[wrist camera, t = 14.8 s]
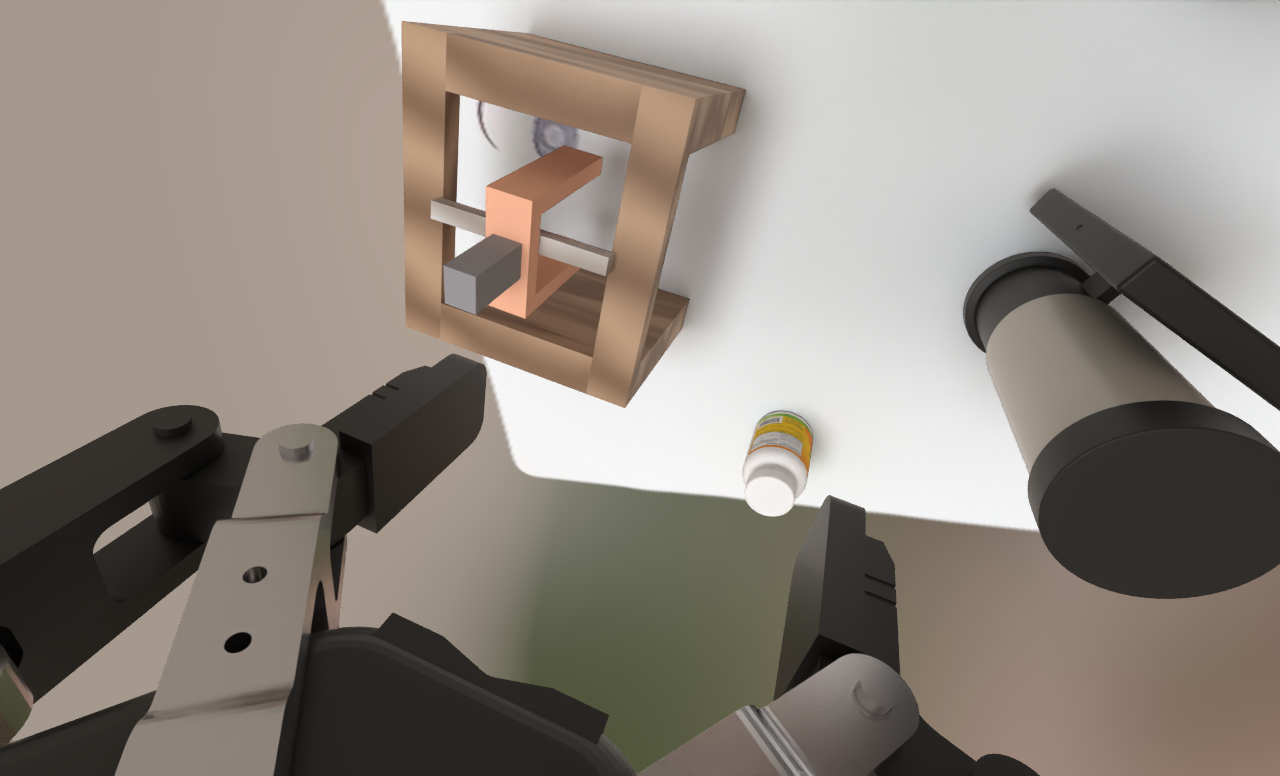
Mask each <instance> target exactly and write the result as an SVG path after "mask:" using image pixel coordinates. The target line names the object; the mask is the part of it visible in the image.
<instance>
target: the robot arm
mask: <svg viewBox="0 0 1280 776" xmlns="http://www.w3.org/2000/svg"><path fill="white" fill-rule="evenodd" d="M486 374H487V372H486V367H485V365H483V364H481V363H478V362H475V361H473V360H470V359H467V358H465V357H462V356H460V355H457V354H451V355H449V356H447V357H446V358H444V359H443V360H441V361H440V362H439V363H437V364H436V365H434V366H433V367H431V368H430V367H428V366H423V367H419V368H417V369H413V370H409V371H406V372H403V373H402V374H400V375H398V376H397V377H395V378H394V379H392V380H391V381H389V382H388V383H387V384H386V386H382V387H380V388H379V389H377V390H375V391H374V392H373V394H372V395H368V396H366V397H365V398H363V399H362V400H360V401H359V402H357V403H356V404H354V405H353V406H351V407H350V408H348V409H346V410H345V411H344V412H342V413H340V414H339V415H337V416H336V417H334V418H333V419H331V420H330V421H329V422H327V423H325V424H324V425H322V426H319V425H314V424H292V425H287V426H283V427H280V428H277V429H275V430H272V431H270V432H268V433H267V434H265V435H264V436H262V437H261V438H256V437H249V436H242V435H235V434H228V433H222V431H221V427H220V423H219V419H218V416H217V415H216V414H215V413H214V412H213V411H211V410H209V409H207V408H204V407H200V406H193V405H178V406H170V407H164V408H160V409H157V410H154V411H151V412H148V413H146V414H144V415H142V416H140V417H138V418H136V419H134V420H132V421H130V422H128V423H126V424H125V425H123V426H121V427H119V428H117V429H115V430H113V431H111V432H109V433H107V434H105V435H104V436H102V437H100V438H98V439H96V440H94V441H92V442H90V443H88V444H86V445H85V446H82V447H81V448H79V449H77V450H75V451H73V452H71V453H69V454H67V455H65V456H63V457H61V458H60V459H58V460H56V461H54V462H52V463H50V464H48V465H46V466H44V467H42V468H40V469H38V470H37V471H35V472H33V473H31V474H29V475H27V476H25V477H23V478H21V479H20V480H18V481H16V482H14V483H12V484H10V485H8V486H6V487H4V488H2V489H0V776H1040V775H1038V774H1037V773H1036V772H1035V771H1034V770H1032V769H1031V768H1029V767H1028V766H1027V765H1025V764H1023V763H1022V762H1020V761H1018V760H1016V759H1014V758H1011V757H1009V756H1005V755H1001V754H988V755H985V756H983V757H981V758H980V759H978V760H977V761H975V760H973V759H972V758H971V757H969V756H968V755H967V754H965V753H964V752H963V751H961V750H960V749H959V748H957V747H956V746H955V745H953V744H952V743H951V742H949V741H948V740H947V739H945V738H944V737H942V736H941V735H940V734H939V733H937V732H936V731H935V730H934V729H933V728H932V727H930V726H929V725H928V724H927V723H926V722H925V721H924V720H923V718H922V717H921V716H920V715H919V709H918V704H917V702H916V699H915V697H914V695H913V693H912V691H911V689H910V688H909V686H908V685H907V683H906V682H905V681H904V680H903V679H902V677H901V676H900V663H899V644H898V625H897V608H896V607H895V605H896V590H895V586H896V584H895V565H894V562H893V561H892V559H891V557H890V555H889V553H888V551H887V549H886V547H885V545H884V543H883V542H882V541H879V540H876V539H874V538H871V537H869V536H866V535H865V521H866V518H865V516H866V515H865V514H866V513H865V509H864V508H862V507H859V506H857V505H854V504H851V503H849V502H846V501H843V500H841V499H838V498H835V497H833V496H830V495H828V496H827V497H826V499H825V500H824V502H823V504H822V506H821V508H820V510H819V512H818V514H817V516H816V518H815V520H814V522H813V524H812V526H811V528H810V530H809V532H808V534H807V536H806V538H805V540H804V542H803V544H802V546H801V549H800V551H799V554H798V556H797V559H796V562H795V566H794V570H793V574H792V581H791V587H790V594H789V601H788V607H787V614H786V620H785V627H784V634H783V640H782V647H781V654H780V660H779V667H778V673H777V680H776V686H775V694H774V700H773V702H772V703H770V704H769V705H767V706H766V707H764V708H762V709H759V710H758V709H757V708H756V707H755V706H754V705H748V706H745V707H743V708H741V709H739V710H738V711H736V712H734V713H733V714H731V715H730V716H728V717H727V718H725V719H723V720H722V721H720V722H719V723H717V724H716V725H714V726H712V727H711V728H710V729H708V730H706V731H704V732H703V733H701V734H700V735H698V736H697V737H695V738H694V739H692V740H690V741H689V742H687V743H686V744H684V745H682V746H681V747H679V748H678V749H676V750H675V751H673V752H671V753H670V754H668V755H667V756H665V757H664V758H662V759H661V760H659V761H657V762H656V763H654V764H653V765H651V766H650V767H648V768H646V769H645V770H643V771H642V772H640V773H638V774H636V772H635V771H634V769H633V767H632V766H631V764H630V763H629V762H628V760H627V759H626V757H625V756H624V755H623V754H622V752H621V751H620V750H619V749H618V748H617V747H616V746H615V745H614V743H612V742H611V741H610V740H609V739H608V738H607V737H606V736H604V735H603V733H604V729H605V726H606V723H607V720H608V717H609V715H608V714H606V713H603V712H601V711H599V710H597V709H595V708H593V707H591V706H589V705H586V704H584V703H582V702H580V701H578V700H576V699H574V698H572V697H570V696H568V695H565V694H563V693H561V692H559V691H557V690H555V689H553V688H548V687H542V686H537V685H532V684H526V683H521V682H516V681H510V680H505V679H500V678H494V677H491V676H489V675H486V674H485V673H484V672H483V671H481V670H480V669H479V668H478V667H477V666H476V665H475V664H473V663H472V662H471V661H470V660H469V659H468V658H467V657H466V656H465V655H463V654H462V653H461V652H460V651H459V650H458V649H457V648H456V647H454V646H453V645H452V644H451V643H450V642H449V641H448V640H447V639H445V638H444V637H443V636H441V635H439V634H437V633H435V632H433V631H431V630H429V629H427V628H424V627H422V626H420V625H418V624H416V623H414V622H412V621H410V620H407V619H405V618H403V617H401V616H399V615H397V614H395V613H392V614H391V615H390V616H389V618H388V619H387V620H386V621H385V622H384V623H383V624H382V626H381V627H380V628H372V627H343V628H339V619H340V608H341V598H342V588H343V579H344V570H345V560H346V551H347V533H348V532H350V531H351V530H352V529H353V528H354V527H355V526H356V525H359V526H361V527H363V528H366V529H368V530H370V531H372V532H374V533H378V532H379V531H380V530H381V529H382V528H383V527H384V526H385V525H386V524H387V523H388V522H389V521H390V520H391V519H393V518H394V517H395V516H396V515H397V514H398V513H399V512H400V511H401V510H402V509H403V508H404V507H405V506H406V505H407V504H408V503H409V502H410V501H412V500H413V499H414V498H415V497H416V496H417V495H418V494H419V493H420V492H421V491H422V490H423V489H424V488H425V487H426V486H427V485H428V484H430V483H431V482H432V481H433V480H434V479H435V478H436V477H437V476H438V475H439V474H440V473H441V472H442V471H443V470H444V469H445V468H446V467H447V466H449V465H450V464H451V463H452V462H453V461H454V460H455V459H456V458H457V457H458V456H459V455H460V454H461V453H462V452H463V451H464V450H465V449H467V448H468V447H469V446H470V445H471V444H472V443H473V441H474V440H475V439H476V437H477V435H478V433H479V431H480V429H481V426H482V423H483V417H484V403H485V388H486ZM148 501H149V504H150V507H151V510H152V513H153V514H152V515H151V516H149V517H148V518H146V519H145V520H143V521H142V522H140V523H139V524H137V525H136V526H134V527H133V528H131V529H130V530H128V531H127V532H126V533H124V534H123V535H121V536H120V537H118V538H117V539H115V540H114V541H112V542H111V543H109V544H108V545H107V546H105V547H103V548H102V549H100V550H99V551H98V552H96V553H94V554H93V548H94V545H95V543H96V541H97V539H98V537H100V535H101V534H102V533H103V532H104V531H105V530H106V529H107V528H109V527H110V526H112V525H113V524H115V523H116V522H118V521H119V520H120V519H122V518H124V517H125V516H127V515H128V514H130V513H131V512H133V511H135V510H136V509H138V508H139V507H141V506H142V505H144V504H145V503H147V502H148ZM197 570H198V572H197V575H196V578H195V581H194V583H193V586H192V589H191V593H190V595H189V598H188V601H187V604H186V607H185V610H184V613H183V615H182V618H181V621H180V624H179V627H178V630H177V633H176V636H175V639H174V641H173V644H172V647H171V650H170V653H169V656H168V659H167V662H166V665H165V668H164V670H163V673H162V677H161V679H160V682H159V685H158V688H157V690H156V691H153V692H150V693H148V694H145V695H142V696H139V697H136V698H134V699H131V700H128V701H125V702H123V703H120V704H117V705H115V706H112V707H109V708H106V709H103V710H101V711H98V712H95V713H92V714H90V715H87V716H84V717H81V718H79V719H76V720H73V721H70V722H68V723H65V724H62V725H59V726H57V727H54V728H51V729H49V730H46V731H43V732H40V733H37V734H35V735H32V736H29V737H26V738H24V739H21V740H18V741H15V742H14V741H13V739H12V738H13V737H14V736H15V735H16V734H17V733H18V732H19V730H20V729H21V728H22V727H23V725H24V724H25V722H26V721H27V719H28V717H29V715H30V713H31V710H32V707H33V704H34V703H35V702H37V701H38V700H39V699H40V698H41V697H43V696H44V695H45V694H46V693H48V692H49V691H50V690H51V689H52V688H54V687H55V686H56V685H57V684H59V683H60V682H61V681H62V680H63V679H65V678H66V677H67V676H69V675H70V674H71V673H72V672H73V671H75V670H76V669H77V668H78V667H79V666H81V665H82V664H83V663H84V662H86V661H87V660H88V659H89V658H91V657H92V656H93V655H94V654H95V653H97V652H98V651H99V650H100V649H102V648H103V647H104V646H105V645H106V644H108V643H109V642H110V641H111V640H113V639H114V638H115V637H116V636H118V635H119V634H120V633H121V632H122V631H124V630H125V629H126V628H127V627H129V626H130V625H131V624H132V623H134V622H135V621H136V620H137V619H138V618H140V617H141V616H142V615H143V614H145V613H146V612H147V611H148V610H149V609H151V608H152V607H153V606H154V605H155V604H157V603H158V602H159V601H160V600H161V599H163V598H164V597H165V596H166V595H168V594H169V593H170V592H172V591H173V590H174V589H175V588H176V587H178V586H179V585H180V584H181V583H182V582H184V581H185V580H186V579H187V578H189V577H190V576H191V575H192V574H193V573H195V572H196V571H197Z"/></svg>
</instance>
